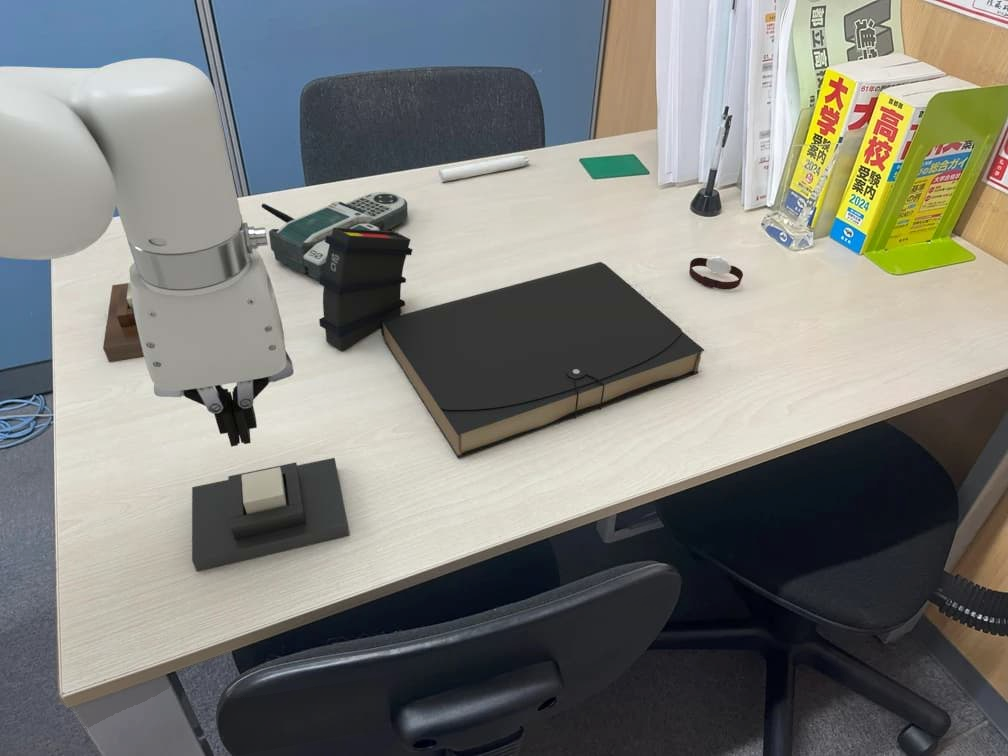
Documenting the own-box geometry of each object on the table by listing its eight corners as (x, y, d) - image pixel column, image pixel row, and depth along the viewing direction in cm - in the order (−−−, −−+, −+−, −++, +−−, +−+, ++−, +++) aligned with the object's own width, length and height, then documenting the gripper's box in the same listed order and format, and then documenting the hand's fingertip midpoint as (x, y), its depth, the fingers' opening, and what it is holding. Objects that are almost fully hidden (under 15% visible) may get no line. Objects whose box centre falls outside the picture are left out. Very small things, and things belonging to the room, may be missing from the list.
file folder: (458, 433, 74) (378, 312, 90) (459, 460, 76) (381, 338, 92) (706, 348, 86) (596, 255, 102) (699, 374, 89) (593, 279, 105)
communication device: (431, 223, 115) (429, 172, 109) (324, 288, 100) (316, 232, 94) (375, 201, 120) (371, 151, 114) (265, 260, 105) (254, 205, 99)
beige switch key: (161, 305, 90) (157, 294, 89) (130, 309, 89) (126, 298, 88) (162, 289, 92) (158, 278, 91) (132, 294, 91) (128, 282, 90)
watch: (742, 280, 105) (749, 259, 103) (735, 296, 102) (741, 275, 99) (692, 266, 108) (697, 245, 105) (683, 281, 104) (688, 260, 102)
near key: (247, 515, 66) (243, 503, 65) (245, 486, 69) (241, 474, 68) (286, 506, 67) (283, 494, 66) (283, 478, 70) (280, 466, 69)
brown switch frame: (195, 348, 89) (187, 322, 87) (108, 362, 87) (97, 336, 84) (195, 287, 99) (187, 263, 96) (117, 298, 97) (107, 273, 94)
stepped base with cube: (196, 571, 65) (186, 549, 63) (196, 497, 72) (187, 475, 69) (349, 535, 69) (345, 513, 66) (336, 468, 75) (332, 445, 73)
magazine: (301, 342, 88) (328, 226, 83) (376, 335, 99) (403, 231, 94) (321, 355, 86) (349, 237, 81) (395, 346, 97) (424, 241, 92)
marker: (527, 162, 133) (527, 150, 132) (532, 166, 132) (533, 154, 130) (438, 179, 127) (438, 166, 125) (443, 184, 125) (443, 171, 124)
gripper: (295, 215, 55) (322, 392, 67) (80, 236, 51) (150, 420, 63) (305, 265, 50) (332, 447, 61) (67, 293, 46) (145, 482, 57)
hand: (240, 433), depth 62 cm, fingers closed
